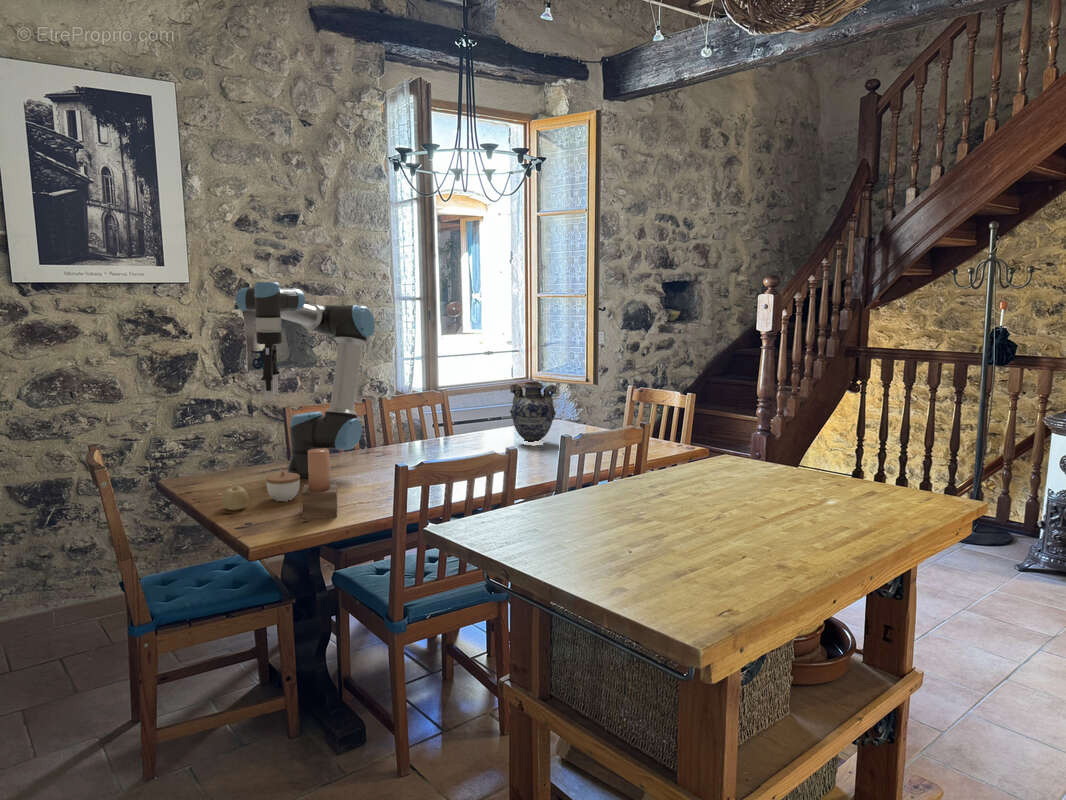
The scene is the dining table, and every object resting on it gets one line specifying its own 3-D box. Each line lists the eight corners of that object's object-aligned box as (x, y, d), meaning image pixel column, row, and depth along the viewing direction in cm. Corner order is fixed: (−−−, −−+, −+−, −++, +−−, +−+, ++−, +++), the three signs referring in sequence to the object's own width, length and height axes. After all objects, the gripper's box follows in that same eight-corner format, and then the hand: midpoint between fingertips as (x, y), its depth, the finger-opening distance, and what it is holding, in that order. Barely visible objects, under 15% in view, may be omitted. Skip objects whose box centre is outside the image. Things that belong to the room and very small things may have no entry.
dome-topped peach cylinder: (309, 486, 236) (308, 448, 234) (330, 485, 237) (329, 448, 235) (308, 491, 230) (306, 453, 228) (330, 490, 231) (328, 452, 229)
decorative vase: (505, 446, 334) (506, 384, 330) (513, 439, 352) (514, 380, 349) (552, 449, 331) (554, 386, 327) (558, 441, 349) (559, 381, 345)
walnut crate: (304, 509, 238) (304, 485, 237) (337, 507, 240) (336, 483, 239) (302, 519, 229) (302, 493, 227) (336, 517, 231) (336, 491, 230)
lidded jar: (290, 504, 244) (289, 476, 242) (260, 502, 246) (259, 474, 244) (306, 495, 254) (305, 468, 253) (277, 493, 256) (276, 467, 255)
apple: (249, 502, 245) (253, 485, 241) (242, 519, 238) (246, 501, 234) (224, 496, 243) (228, 478, 239) (216, 512, 236) (220, 494, 232)
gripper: (260, 329, 248) (263, 392, 252) (251, 333, 224) (254, 403, 228) (284, 328, 250) (287, 392, 253) (277, 333, 226) (280, 403, 229)
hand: (271, 397), depth 240 cm, fingers open, 13 cm apart
